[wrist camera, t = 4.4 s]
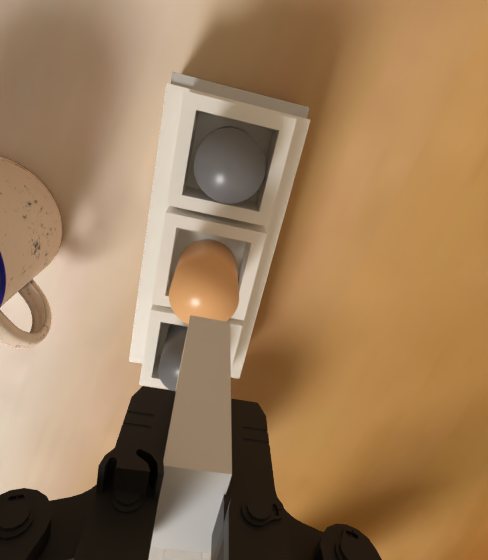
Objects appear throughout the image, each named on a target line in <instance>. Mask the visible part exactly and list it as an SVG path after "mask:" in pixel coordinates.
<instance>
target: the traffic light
mask: <svg viewBox="0 0 488 560" xmlns="http://www.w3.org/2000/svg"><path fill="white" fill-rule="evenodd" d="M309 109H310V107H307V106H303V105H299V104H295V103H291V102H287V101H284V100H280V99H276V98H272V97H268V96H264V95H260V94H257V93H253V92H249V91H245V90H241V89H237V88H233V87H230V86H226V85H222V84H218V83H214V82H210V81H207V80H203V79H199V78H195V77H191V76H187V75H183V74H180V73H176V72H172V79H171V84H169V83H167V84H166V91H165V98H164V106H163V113H162V120H161V128H160V135H159V143H158V150H157V157H156V165H155V172H154V179H153V187H152V194H151V202H150V209H149V216H148V224H147V231H146V238H145V246H144V253H143V260H142V268H141V275H140V283H139V290H138V297H137V305H136V312H135V319H134V327H133V334H132V342H131V349H130V356H129V362H136V363H142V369H141V376H140V382H139V385H144V386H151V387H158V388H164V389H168V388H167V387H165V386H164V385H163V383H162V382H161V380H160V378H159V375H158V367H159V363H160V359H161V355H162V351H163V347H164V344H165V340H166V336H167V332H168V328H169V326H170V325H171V324H175V325H181V326H187V327H188V324H186V323H184V322H183V321H182V320H180V319H179V318H178V317H177V316H176V315H175V313H174V312H173V310H172V308H171V305H170V302H169V291H170V287H171V284H172V280H173V277H174V274H175V271H176V267H177V264H178V261H179V258H180V255H181V253H182V252H183V250H184V249H185V248H186V247H187V246H188V245H190V244H191V243H193V242H195V241H198V240H204V239H210V240H215V241H218V242H221V243H223V244H224V245H226V246H227V247H228V248H229V249H230V250H231V251H232V253H233V255H234V257H235V259H236V263H237V274H238V287H239V304H238V307H237V309H236V311H235V313H234V314H233V316H232V317H231V318H230V319H229V320H228V321H226V322H230V358H231V378H237V379H239V378H240V375H241V371H242V367H243V364H244V360H245V356H246V353H247V349H248V346H249V342H250V338H251V335H252V331H253V327H254V324H255V320H256V317H257V313H258V309H259V306H260V302H261V298H262V295H263V291H264V287H265V284H266V280H267V277H268V273H269V269H270V266H271V262H272V258H273V255H274V251H275V248H276V244H277V240H278V237H279V233H280V229H281V226H282V222H283V218H284V215H285V211H286V208H287V204H288V200H289V197H290V193H291V189H292V186H293V182H294V179H295V175H296V171H297V168H298V164H299V160H300V157H301V153H302V150H303V146H304V142H305V139H306V135H307V131H308V128H309V124H310V119H307V116H308V112H309ZM225 126H232V127H237V128H240V129H242V130H244V131H245V132H246V133H248V134H249V135H250V136H251V137H252V138H253V139H254V140H255V141H256V142H257V143H258V145H259V146H260V148H261V150H262V152H263V155H264V158H265V166H266V167H265V176H264V179H263V182H262V184H261V186H260V187H259V189H258V190H257V191H256V192H255V193H254V194H253V195H252V196H251V197H250V198H248V199H246V200H244V201H242V202H238V203H232V204H229V203H221V202H218V201H216V200H214V199H212V198H210V197H209V196H208V195H206V194H205V193H204V192H203V191H202V189H201V188H200V186H199V185H198V183H197V180H196V178H195V174H194V159H195V155H196V152H197V150H198V148H199V146H200V145H201V143H202V142H203V140H204V139H205V138H206V136H207V135H208V134H209V133H211V132H212V131H213V130H215V129H217V128H220V127H225Z"/></svg>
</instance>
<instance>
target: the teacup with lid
mask: <svg viewBox="0 0 488 560" xmlns="http://www.w3.org/2000/svg"><path fill="white" fill-rule="evenodd" d="M61 239H62V221H61V216H60V213H59V210H58V207H57V204H56V202H55V200H54V198H53V197H52V195H51V193H50V192H49V191H48V189H47V188H46V187H45V185H44V184H43V183H42V182H41V181H40V180H39V179H38V178H37V177H36V176H35V175H34V174H32V173H31V172H30V171H28V170H27V169H26V168H24V167H22V166H21V165H19V164H17V163H15V162H13V161H11V160H9V159H6V158H4V157H0V307H1V306H2V305H3V304H4V303H5V302H6V301H8V300H9V299H10V298H11V297H12V296H13V295H14V294H16V293H17V292H19V293H20V295H21V296H22V297H23V298H24V300H25V301H26V303H27V304H28V306H29V308H30V310H31V314H32V328H31V331H30V333H28V332H25V331H22V330H21V329H19V328H18V327H16V326H15V325H14V324H13V323H12V322H11V321H10V320H9V319H8V318H7V317H6V316H5V315H4V314H3V312H2V311H1V310H0V342H2V343H3V344H5V345H7V346H10V347H12V348H17V349H27V348H30V347H33V346H34V345H36V344H38V343H39V342H41V341H42V340H43V339H44V338H45V337H46V335H47V333H48V331H49V329H50V325H51V310H50V306H49V303H48V301H47V299H46V297H45V295H44V293H43V292H42V290H41V289H40V288H39V286H38V285H37V284H36V283H35V281H34V280H33V278H34V277H35V276H36V275H37V274H38V273H40V272H41V271H42V270H43V269H44V268H45V267H46V266H48V265H49V264H50V262H51V261H52V260H53V259H54V257H55V256H56V254H57V252H58V250H59V247H60V244H61Z"/></svg>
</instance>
